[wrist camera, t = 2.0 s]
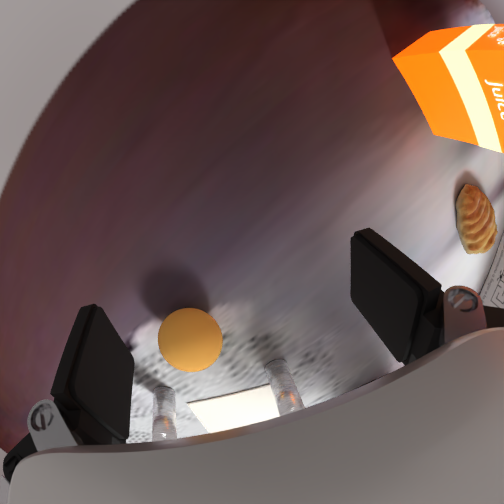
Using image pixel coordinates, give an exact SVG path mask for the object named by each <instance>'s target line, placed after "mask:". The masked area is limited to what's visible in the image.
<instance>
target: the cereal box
mask: <svg viewBox="0 0 504 504" xmlns="http://www.w3.org/2000/svg"><path fill="white" fill-rule="evenodd" d="M479 296H480V297H481V300H482V302H483V305H485V306H491V307H498V308H504V232H503V235H502V239H501V242H500V245H499V248H498V250H497V253H496V256H495V259H494V262H493V264H492V267H491V269H490V272H489V274H488V277H487V279H486V282H485V284H484V286H483V289H482V291H481V293H480V295H479Z"/></svg>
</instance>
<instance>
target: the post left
mask: <svg viewBox="0 0 504 504" xmlns="http://www.w3.org/2000/svg"><path fill="white" fill-rule="evenodd" d="M171 439H177V431H176V406H175V391H174V390H173V389H171V388H169V387H157V388H155V389H154V395H153V438H152V442H154V441H163V440H171Z"/></svg>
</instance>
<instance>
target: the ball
mask: <svg viewBox="0 0 504 504" xmlns="http://www.w3.org/2000/svg"><path fill="white" fill-rule="evenodd" d="M222 343H223V339H222V333H221V329H220V327H219V325H218V324H217V322H216V321H215V320H214V318H213V317H211V316H210V315H209V314H208V313H206V312H204V311H202V310H199V309H195V308H183V309H179V310H177V311H174V312H173V313H171V314H170V315H169V316H167V317H166V318H165V320H164V321H163V323H162V324H161V326H160V329H159V333H158V345H159V349H160V351H161V354H162V355H163V357H164V358H165V360H166V361H167V362H168V363H169V364H170V365H172V366H173V367H175V368H177V369H179V370H182V371H186V372H196V371H201V370H204V369H206V368H208V367H209V366H211V365H212V364H213V363H214V362H215V361H216V360H217V358H218V356H219V355H220V352H221V349H222Z"/></svg>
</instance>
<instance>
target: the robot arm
mask: <svg viewBox="0 0 504 504" xmlns="http://www.w3.org/2000/svg"><path fill="white" fill-rule="evenodd" d="M350 242H351V292H350V294H351V299H352V302H353V303H354V305H355V306H356V307H357V309H358V310H359V311H360V312H361V314H362V315H363V316H364V318H365V319H366V320H367V321H368V323H369V324H370V325H371V327H372V328H373V329H374V331H375V332H376V333H377V335H378V336H379V337H380V339H381V340H382V341H383V343H384V344H385V345H386V347H387V348H388V349H389V351H390V352H391V353H392V355H393V356H394V357H395V359H396V360H397V361H398V362H403V364H404V365H405V366H404V367H402V368H400V369H398V370H396V371H394V372H391V373H389V374H387V375H385V376H383V377H381V378H379V379H377V380H375V381H373V382H370V383H368V384H366V385H364V386H361V387H359V388H357V389H354V390H352V391H350V392H347V393H345V394H342V395H340V396H337V397H335V398H332V399H330V400H327V401H324V402H321V403H319V404H316V405H313V406H310V407H307V408H304V409H301V410H298V411H295V412H292V413H289V414H286V415H283V416H279V417H276V418H272V419H269V420H265V421H262V422H258V423H254V424H250V425H246V426H242V427H238V428H233V429H229V430H224V431H219V432H214V433H209V434H204V435H198V436H192V437H186V438H179V439H171V440H163V441H154V442H144V443H130V444H126V439H127V438H128V437H129V427H130V409H131V395H132V384H133V373H134V358H133V356H132V354H131V353H130V351H129V350H128V348H127V347H126V345H125V344H124V342H123V341H122V339H121V338H120V336H119V335H118V333H117V332H116V330H115V328H114V327H113V325H112V324H111V322H110V320H109V319H108V317H107V315H106V314H105V312H104V310H103V309H102V308H101V307H98V306H97V305H96V304H91V305H88V306H84V307H81V308H80V310H79V313H78V315H77V317H76V320H75V322H74V325H73V327H72V330H71V333H70V335H69V338H68V341H67V343H66V346H65V349H64V352H63V355H62V358H61V361H60V364H59V367H58V370H57V373H56V376H55V379H54V383H53V386H52V389H51V393H50V394H51V395H52V396H53V397H54V402H53V401H51V400H42V401H40V402H38V403H37V404H36V405H35V406H34V407H33V408H32V409H31V411H30V413H29V416H28V428H29V431H30V433H29V434H28V435H26V436H25V437H24V438H23V439H22V440H21V441H20V442H19V443H18V444H17V445H16V446H15V447H14V448H13V449H12V450H11V451H10V452H9V453H8V454H7V456H6V457H5V458H4V462H3V471H4V475H5V477H4V476H1V478H0V504H504V308H498V307H491V306H485V305H483V302H482V300H481V297H480V296H479V295H478V293H477V292H475V291H474V290H473V289H471V288H468V287H465V286H453V287H450V288H448V289H447V290H446V291H445V293H444V292H443V291H442V290H441V286H442V285H441V284H440V283H439V282H438V281H436V280H435V279H434V278H433V277H432V276H431V275H429V274H428V273H427V272H426V271H425V270H423V269H422V268H421V267H420V266H418V265H417V264H416V263H415V262H414V261H412V260H411V259H410V258H409V257H407V256H406V255H405V254H404V253H402V252H401V251H400V250H399V249H397V248H396V247H395V246H393V245H392V244H391V243H389V242H388V241H387V240H386V239H384V238H383V237H382V236H380V235H379V234H378V233H376V232H375V231H374V230H372V229H371V228H366V229H363V230H359V231H356V232H355V233H354V236H353V237H351V241H350Z"/></svg>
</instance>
